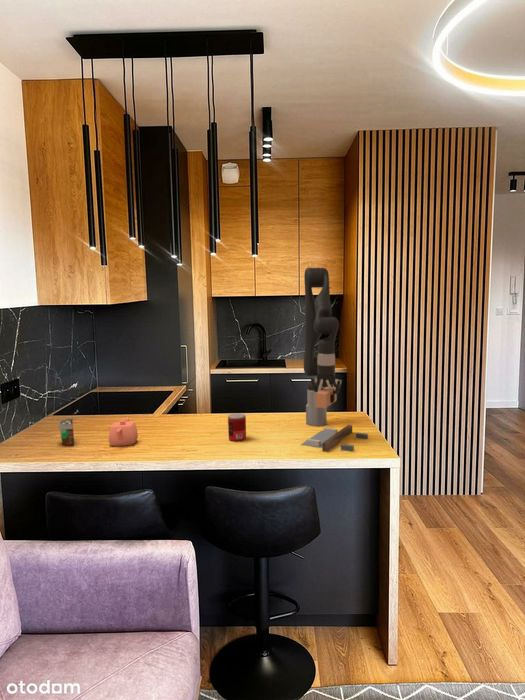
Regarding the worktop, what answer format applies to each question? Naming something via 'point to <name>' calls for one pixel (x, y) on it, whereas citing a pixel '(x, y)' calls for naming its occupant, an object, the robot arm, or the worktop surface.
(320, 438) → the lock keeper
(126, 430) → the teapot
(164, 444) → the worktop surface
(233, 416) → the canned food
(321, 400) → the bar
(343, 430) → the door edge
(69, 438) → the food container
